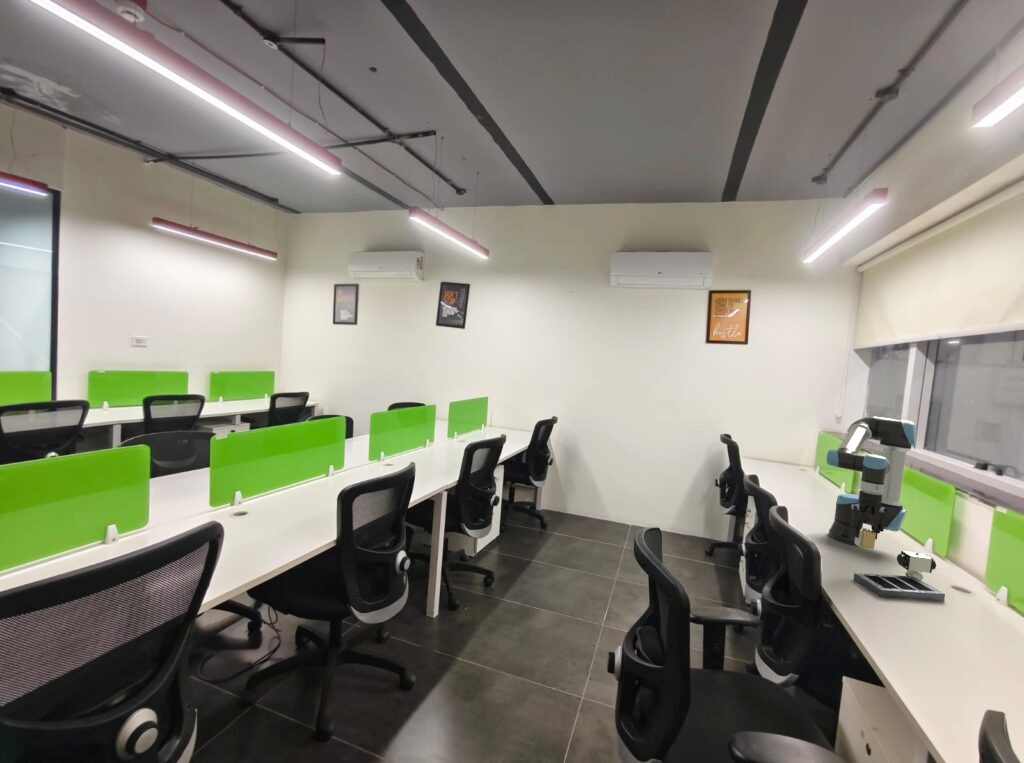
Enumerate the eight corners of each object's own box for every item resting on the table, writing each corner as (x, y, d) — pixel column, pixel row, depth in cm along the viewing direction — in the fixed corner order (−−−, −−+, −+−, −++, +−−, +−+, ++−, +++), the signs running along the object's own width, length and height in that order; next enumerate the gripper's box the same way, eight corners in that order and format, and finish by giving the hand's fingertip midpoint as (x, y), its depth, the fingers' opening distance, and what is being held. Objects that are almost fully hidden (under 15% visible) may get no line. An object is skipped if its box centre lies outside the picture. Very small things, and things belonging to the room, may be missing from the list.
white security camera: (933, 584, 181) (937, 556, 180) (901, 579, 183) (905, 552, 182) (924, 578, 186) (928, 551, 185) (892, 573, 188) (896, 546, 188)
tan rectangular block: (854, 543, 187) (856, 526, 186) (866, 545, 186) (868, 527, 186) (862, 548, 182) (864, 530, 182) (873, 549, 182) (875, 531, 181)
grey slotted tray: (853, 579, 180) (854, 572, 180) (912, 583, 180) (913, 576, 180) (880, 597, 167) (881, 589, 167) (944, 601, 167) (945, 593, 167)
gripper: (854, 492, 180) (847, 547, 182) (900, 497, 178) (893, 552, 180) (843, 487, 187) (836, 539, 189) (886, 491, 186) (879, 544, 187)
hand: (864, 545), depth 184 cm, fingers closed on tan rectangular block, 4 cm apart
